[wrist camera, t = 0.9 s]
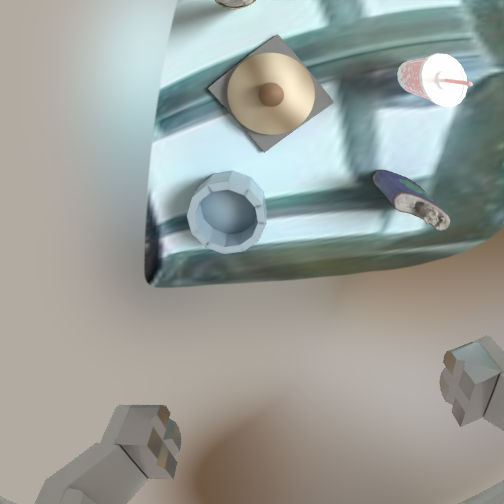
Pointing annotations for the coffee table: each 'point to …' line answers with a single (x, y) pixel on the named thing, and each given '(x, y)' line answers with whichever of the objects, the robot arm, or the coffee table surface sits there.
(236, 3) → the ice cream cone
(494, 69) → the coffee table surface
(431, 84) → the beverage cup
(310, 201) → the coffee table surface
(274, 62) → the lid
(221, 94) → the mat
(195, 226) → the bowl
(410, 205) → the flask
